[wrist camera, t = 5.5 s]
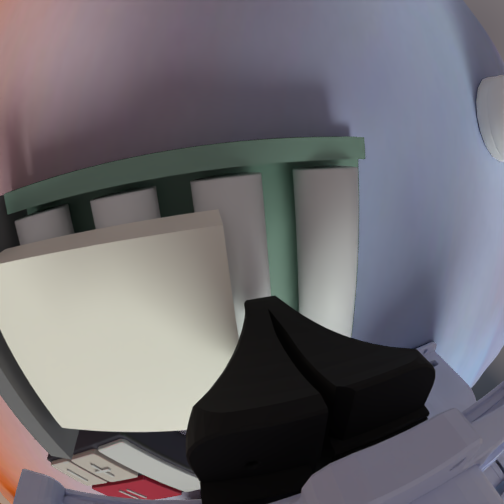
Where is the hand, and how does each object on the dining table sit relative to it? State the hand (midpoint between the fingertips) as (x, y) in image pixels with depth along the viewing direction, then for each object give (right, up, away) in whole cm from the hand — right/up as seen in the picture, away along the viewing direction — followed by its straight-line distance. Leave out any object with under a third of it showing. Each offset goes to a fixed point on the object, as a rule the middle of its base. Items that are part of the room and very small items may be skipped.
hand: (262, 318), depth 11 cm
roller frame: (-4, +1, +4) cm, 6 cm away
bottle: (+21, +14, +4) cm, 26 cm away
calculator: (-13, -17, +10) cm, 23 cm away
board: (-6, -1, 0) cm, 6 cm away
